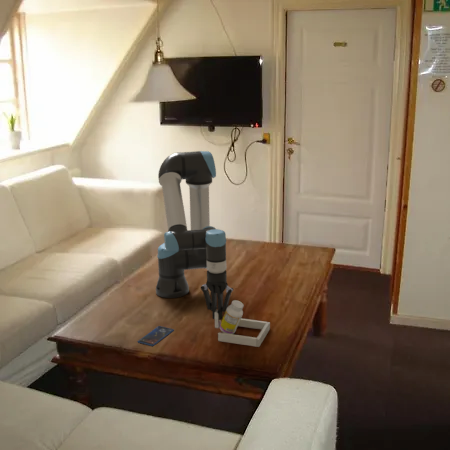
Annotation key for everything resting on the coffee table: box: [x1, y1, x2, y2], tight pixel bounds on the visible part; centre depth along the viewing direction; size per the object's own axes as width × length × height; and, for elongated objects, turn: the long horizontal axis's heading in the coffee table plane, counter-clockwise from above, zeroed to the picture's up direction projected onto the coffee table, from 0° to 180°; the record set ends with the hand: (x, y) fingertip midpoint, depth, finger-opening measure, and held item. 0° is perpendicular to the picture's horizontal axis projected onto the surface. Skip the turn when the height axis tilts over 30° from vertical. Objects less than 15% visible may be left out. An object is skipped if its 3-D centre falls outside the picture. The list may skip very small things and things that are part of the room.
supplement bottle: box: [219, 299, 244, 335], centre depth 224 cm, size 7×7×13 cm
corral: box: [217, 317, 271, 348], centre depth 225 cm, size 16×15×3 cm
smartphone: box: [136, 325, 175, 347], centre depth 226 cm, size 8×1×15 cm
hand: (217, 326), depth 228 cm, fingers closed
